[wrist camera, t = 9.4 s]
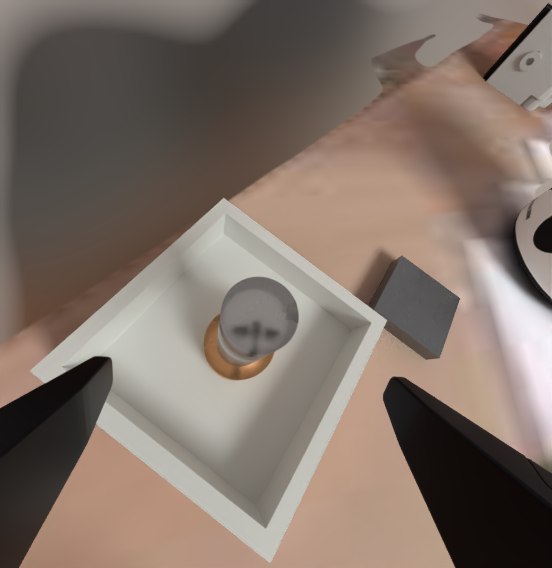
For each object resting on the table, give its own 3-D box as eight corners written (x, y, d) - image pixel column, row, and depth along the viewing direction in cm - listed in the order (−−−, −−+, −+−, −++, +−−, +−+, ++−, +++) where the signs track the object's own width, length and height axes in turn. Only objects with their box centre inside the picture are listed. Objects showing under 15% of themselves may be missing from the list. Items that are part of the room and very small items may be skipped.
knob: (257, 389, 19) (302, 392, 10) (193, 368, 18) (178, 352, 9) (275, 327, 21) (326, 282, 12) (218, 307, 20) (225, 244, 11)
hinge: (544, 106, 50) (619, 43, 41) (545, 122, 48) (625, 60, 38) (483, 71, 49) (546, -1, 40) (482, 86, 47) (548, 13, 37)
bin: (258, 527, 16) (270, 563, 13) (64, 373, 17) (29, 371, 14) (362, 329, 23) (387, 320, 20) (221, 223, 24) (223, 198, 20)
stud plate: (426, 359, 24) (439, 358, 22) (364, 313, 24) (373, 309, 22) (447, 302, 27) (460, 298, 25) (392, 262, 27) (401, 255, 25)
